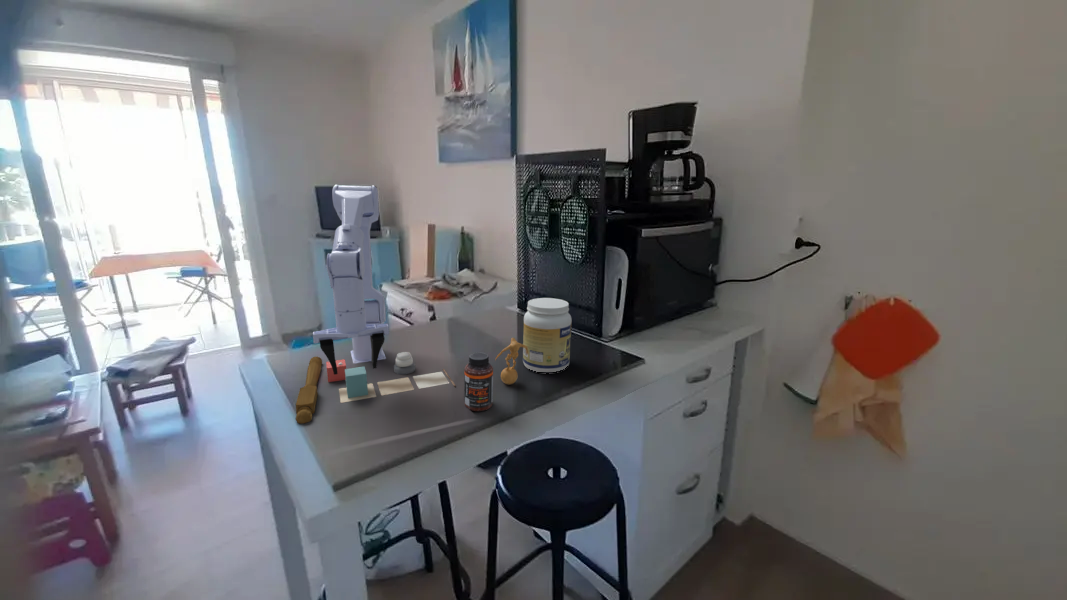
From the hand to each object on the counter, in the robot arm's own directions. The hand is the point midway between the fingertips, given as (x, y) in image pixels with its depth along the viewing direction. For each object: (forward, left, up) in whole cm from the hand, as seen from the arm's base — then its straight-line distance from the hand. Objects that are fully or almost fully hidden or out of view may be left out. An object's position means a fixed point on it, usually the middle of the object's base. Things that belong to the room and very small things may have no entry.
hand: (355, 369), depth 92 cm
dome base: (-8, +12, -6) cm, 15 cm away
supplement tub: (+2, +46, -6) cm, 46 cm away
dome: (-8, +12, -4) cm, 15 cm away
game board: (0, +8, -6) cm, 10 cm away
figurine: (+9, +33, -6) cm, 34 cm away
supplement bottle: (+15, +23, -6) cm, 28 cm away
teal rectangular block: (0, 0, -5) cm, 5 cm away
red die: (-10, -3, -6) cm, 12 cm away
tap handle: (-6, -9, -7) cm, 13 cm away
